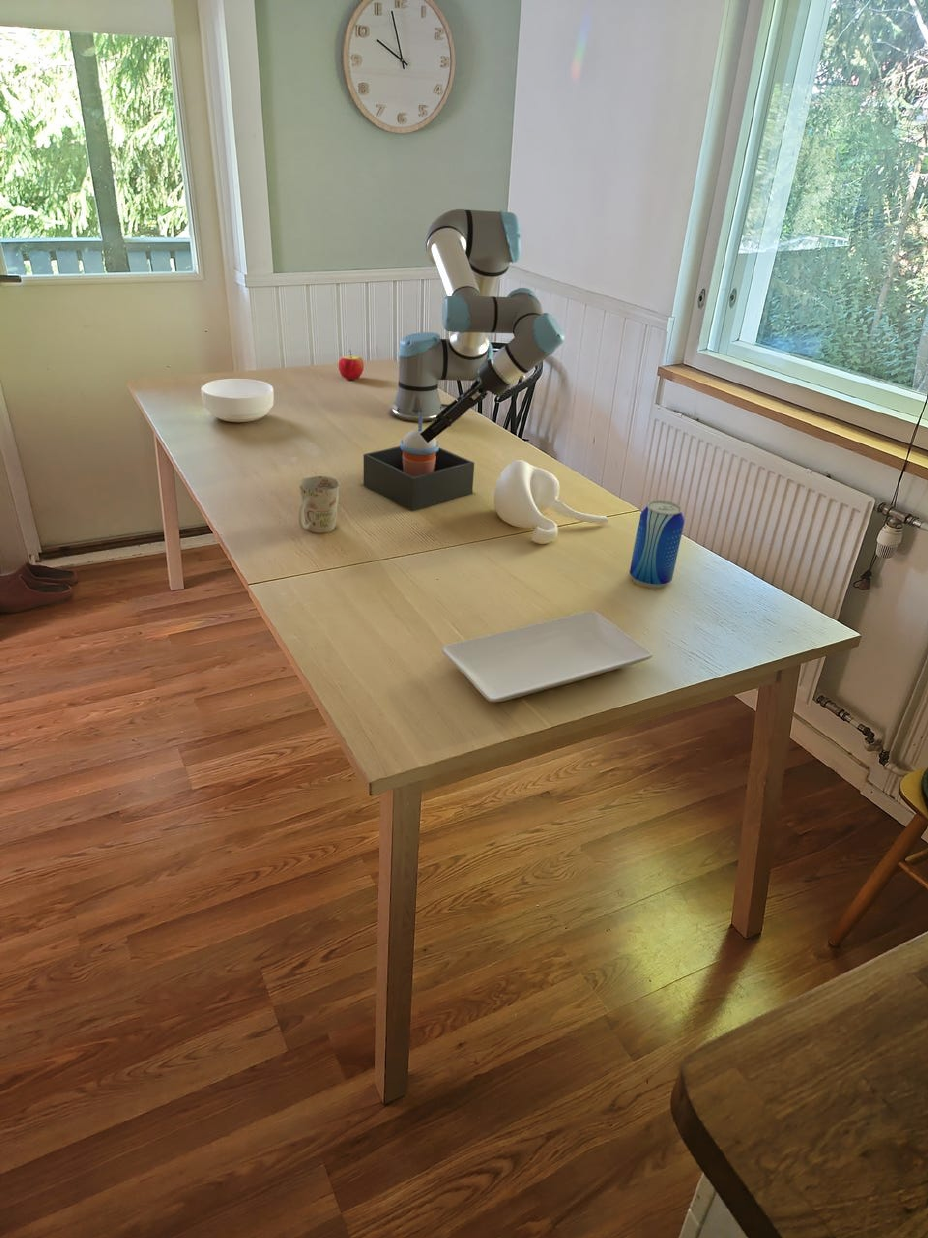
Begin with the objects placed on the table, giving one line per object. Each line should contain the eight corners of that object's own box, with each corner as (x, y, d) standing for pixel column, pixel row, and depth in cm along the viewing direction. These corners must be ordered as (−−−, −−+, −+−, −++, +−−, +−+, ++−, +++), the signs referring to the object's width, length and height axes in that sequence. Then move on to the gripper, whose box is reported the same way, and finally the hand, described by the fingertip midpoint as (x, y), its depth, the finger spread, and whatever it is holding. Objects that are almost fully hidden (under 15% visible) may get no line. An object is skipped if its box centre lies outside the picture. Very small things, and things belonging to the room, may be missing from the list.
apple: (335, 380, 279) (335, 350, 274) (342, 374, 286) (342, 344, 281) (359, 383, 278) (359, 352, 273) (366, 377, 285) (366, 347, 280)
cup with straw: (439, 481, 205) (442, 408, 196) (434, 495, 197) (438, 420, 188) (402, 477, 205) (404, 404, 196) (396, 491, 198) (397, 416, 188)
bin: (422, 470, 213) (423, 440, 209) (472, 493, 202) (474, 462, 198) (363, 485, 202) (363, 454, 198) (412, 510, 190) (413, 478, 186)
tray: (437, 662, 138) (438, 644, 136) (591, 624, 152) (594, 607, 150) (489, 720, 125) (491, 701, 123) (652, 672, 139) (656, 655, 137)
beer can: (662, 595, 163) (678, 519, 155) (622, 582, 166) (635, 507, 158) (676, 579, 169) (692, 505, 161) (637, 567, 173) (651, 494, 165)
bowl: (289, 417, 243) (288, 388, 238) (239, 433, 228) (237, 402, 224) (240, 403, 251) (238, 374, 247) (188, 417, 237) (185, 387, 232)
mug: (347, 523, 182) (346, 480, 177) (320, 546, 172) (318, 500, 167) (312, 516, 184) (311, 473, 179) (284, 538, 174) (281, 493, 169)
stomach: (515, 564, 180) (606, 559, 191) (535, 516, 171) (629, 513, 182) (475, 497, 194) (562, 495, 204) (492, 449, 185) (582, 450, 196)
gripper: (501, 400, 174) (428, 459, 184) (521, 371, 195) (454, 426, 205) (478, 371, 172) (406, 432, 182) (500, 345, 193) (434, 402, 203)
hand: (431, 429), depth 194 cm, fingers open, 13 cm apart
